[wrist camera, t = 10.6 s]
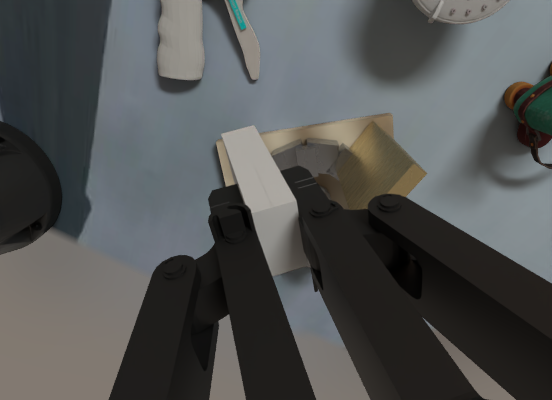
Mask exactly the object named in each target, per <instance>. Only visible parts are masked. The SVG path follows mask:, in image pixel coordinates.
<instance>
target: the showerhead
mask: <svg viewBox="0 0 552 400" xmlns="http://www.w3.org/2000/svg"><path fill="white" fill-rule="evenodd" d="M412 1H413V3H414V4H415V6H416V7H417V8H418V9H419V10H420V11H421V12H422V13H423V14H425V15H426V16H428V17H429V19H428V22H429V23H432V22H433V21H434V20H436V21H439V22H442V23H448V24H467V23H473V22H476V21H479V20H482V19H484V18H487V17H489V16H490V15H492V14H494V13H495V12H497V11H498V10H500V9H501V8H502V7H503V6H505V5H506V4H507V3H508V2H509V1H510V0H412Z"/></svg>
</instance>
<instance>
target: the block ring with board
mask: <svg viewBox="0 0 552 400" xmlns="http://www.w3.org/2000/svg"><path fill="white" fill-rule="evenodd" d="M272 158H273V160H274V162H275V163H276V165H277V167H278V169H279V171H281V170H285V169H288V168H292V167H295V166H301V167H303V168H306V169H308V170H309V172H310V173H311V174H312V176H313V177H318V173H321V174H330V175H331V176H333V177H334V178H336V179H337V180H338V181H340V184H341V187H342V190H343V193H344V196H345V198H346V201H347V204H348V207H349V210H359V209H368V203H369V201H370V200H371V199H373V198H374V197H375V196H379V195H382V194H398V195H401V196H404V197H406V196H407V195H408V194H409V193H410V192H411V191H412V189H413V188H414V187H415V186H416V185H417V184H418V183H419V182H420V181H421V180H422V179H423V178H424V176H425V175H426V174H427V173H426V172H425V171H424V170H423V169H422V168H421V167H420V166H419V165H418V164H417V163H416V162H415V161H414V159H413V158H412V157H411V156H410V155H409V154H408V153H407V152H406V151H405V150H404V149H403V148H402V147H401V146H400V145H399V144H398V143H397V142H396V141H395V140H394V139H393V138H392V137H391V136H390V135H389V134H388V133H387V132H386V131H385V130H384V129H383V128H382V127H381V126H379V125H378V124H377V123H376V122H374V121H373V120H372V122H371V123H370V124H369V125H368V127H367V128H366V129H365V130H364V131H363V133H362V134H361V135H360V136H359V138H358V139H357V140H356V141H355V142H354V144H353V145H352V146H351V147H350V148H349V147H348V146H347V145H345V144H344V143H342V144H341V145H340V147H339V144H338V142H337V140H327V139H317V138H306V145H305V146H304V145H303V143H302V141H301V138H300V139H298V140H296V141H293V142H291V143H289V144H286V145H284V146H282V147H279V148H277V149H275V150H273V152H272ZM306 259H307V257H306ZM307 265H308V266H305V267H310V268H311V266H310V263H309V261H308V259H307Z"/></svg>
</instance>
